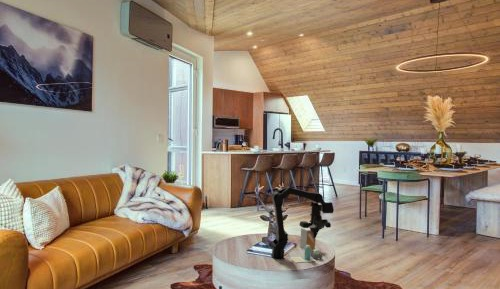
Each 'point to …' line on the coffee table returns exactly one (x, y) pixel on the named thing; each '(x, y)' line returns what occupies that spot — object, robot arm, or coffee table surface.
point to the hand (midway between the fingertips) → (314, 238)
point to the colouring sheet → (300, 259)
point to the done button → (316, 252)
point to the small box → (307, 238)
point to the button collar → (316, 255)
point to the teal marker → (307, 252)
